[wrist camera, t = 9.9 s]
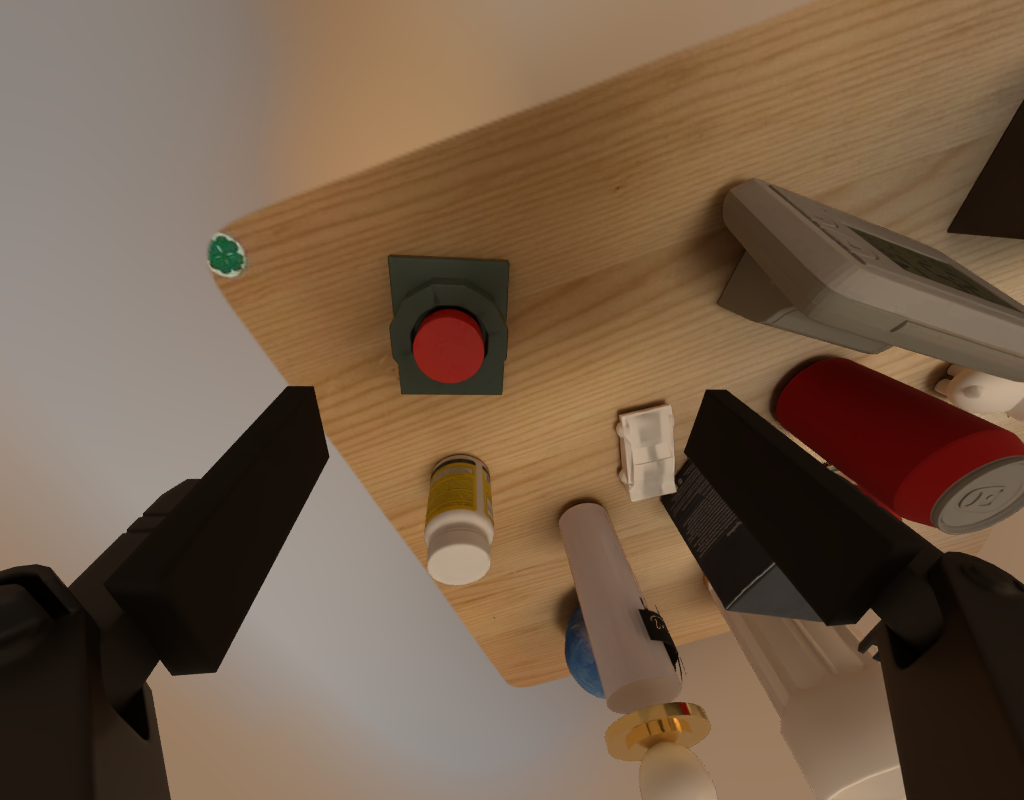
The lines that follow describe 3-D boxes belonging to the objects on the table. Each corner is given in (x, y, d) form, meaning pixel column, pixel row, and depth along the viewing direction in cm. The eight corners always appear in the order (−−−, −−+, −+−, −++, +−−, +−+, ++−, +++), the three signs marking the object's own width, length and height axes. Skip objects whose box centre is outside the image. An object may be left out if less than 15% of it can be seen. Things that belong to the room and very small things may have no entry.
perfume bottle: (567, 544, 36) (660, 872, 19) (539, 510, 33) (616, 856, 16) (621, 518, 35) (770, 840, 18) (596, 481, 32) (743, 818, 15)
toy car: (617, 485, 33) (627, 504, 31) (611, 411, 29) (622, 427, 27) (669, 473, 33) (682, 491, 31) (670, 397, 29) (685, 412, 27)
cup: (700, 542, 38) (851, 773, 23) (806, 522, 38) (1025, 738, 23) (688, 605, 44) (804, 823, 29) (781, 587, 44) (944, 795, 29)
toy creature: (987, 401, 32) (1091, 443, 27) (909, 400, 31) (1001, 444, 26) (1026, 352, 30) (1149, 388, 25) (943, 349, 29) (1052, 386, 24)
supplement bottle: (419, 479, 30) (404, 571, 23) (456, 443, 29) (452, 529, 21) (464, 505, 32) (464, 598, 25) (501, 472, 31) (512, 560, 23)
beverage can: (828, 425, 32) (1002, 539, 22) (756, 428, 31) (899, 547, 21) (868, 352, 29) (1096, 446, 18) (788, 353, 28) (978, 451, 17)
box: (656, 502, 34) (723, 613, 25) (695, 447, 31) (786, 550, 22) (744, 520, 37) (834, 627, 28) (788, 471, 34) (903, 572, 25)
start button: (414, 307, 21) (410, 316, 20) (484, 309, 22) (485, 318, 20) (418, 370, 23) (415, 383, 22) (482, 371, 24) (483, 383, 22)
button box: (389, 254, 22) (381, 261, 19) (508, 259, 22) (512, 267, 20) (402, 390, 26) (396, 408, 24) (501, 390, 27) (504, 408, 25)
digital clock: (926, 258, 25) (1190, 297, 16) (822, 368, 29) (988, 451, 20) (766, 119, 20) (1016, 59, 11) (664, 272, 24) (788, 325, 15)
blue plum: (689, 664, 29) (629, 737, 37) (681, 572, 36) (633, 649, 44) (581, 619, 31) (545, 697, 38) (594, 540, 38) (562, 619, 46)
